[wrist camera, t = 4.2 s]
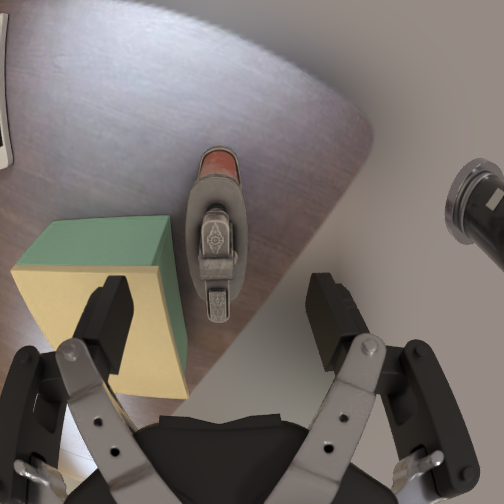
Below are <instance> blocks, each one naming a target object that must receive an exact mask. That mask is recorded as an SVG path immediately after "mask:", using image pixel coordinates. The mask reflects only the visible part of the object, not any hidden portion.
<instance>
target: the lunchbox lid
mask: <svg viewBox="0 0 504 504" xmlns="http://www.w3.org/2000/svg"><path fill="white" fill-rule="evenodd" d="M10 271H11V274H12V276H13V278H14V280H15V282H16V285H17V287H18V289H19V291H20V293H21V295H22V297H23V299H24V301H25V303H26V304H27V306H28V308H29V310H30V312H31V314H32V315H33V317H34V319H35V321H36V322H37V324H38V326H39V327H40V329H41V331H42V332H43V334H44V336H45V337H46V339H47V340H48V342H49V344H50V345H51V347H52V348H53V350H54V351H56V350H57V348H58V346H59V345H60V344H61V343H62V342H63V341H65V340H67V339H70V338H72V336H73V334H74V331H75V329H76V326H77V324H78V322H79V319H80V317H81V315H82V312H84V308H85V306H86V305H87V301H88V299H89V297H90V295H91V294H92V293H93V292H94V291H95V290H96V289H97V288H98V287H103V285H104V283H105V281H106V279H107V277H108V276H109V275H124V276H126V278H127V281H128V285H129V289H130V292H131V295H132V299H133V303H134V315H133V319H132V322H131V326H130V330H129V333H128V337H127V341H126V345H125V349H124V353H123V357H122V361H121V366H120V370H119V375H112V374H110V375H109V379H108V382H109V384H110V386H111V387H112V389H113V391H114V393H120V394H128V395H137V396H147V397H159V398H175V399H189V391H188V388H187V384H186V381H185V377H184V374H183V370H182V367H181V363H180V359H179V355H178V352H177V348H176V344H175V340H174V336H173V331H172V327H171V323H170V318H169V314H168V309H167V305H166V300H165V295H164V290H163V285H162V280H161V274H160V269H159V266H69V265H14V266H13V268H12V269H11V270H10Z"/></svg>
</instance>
